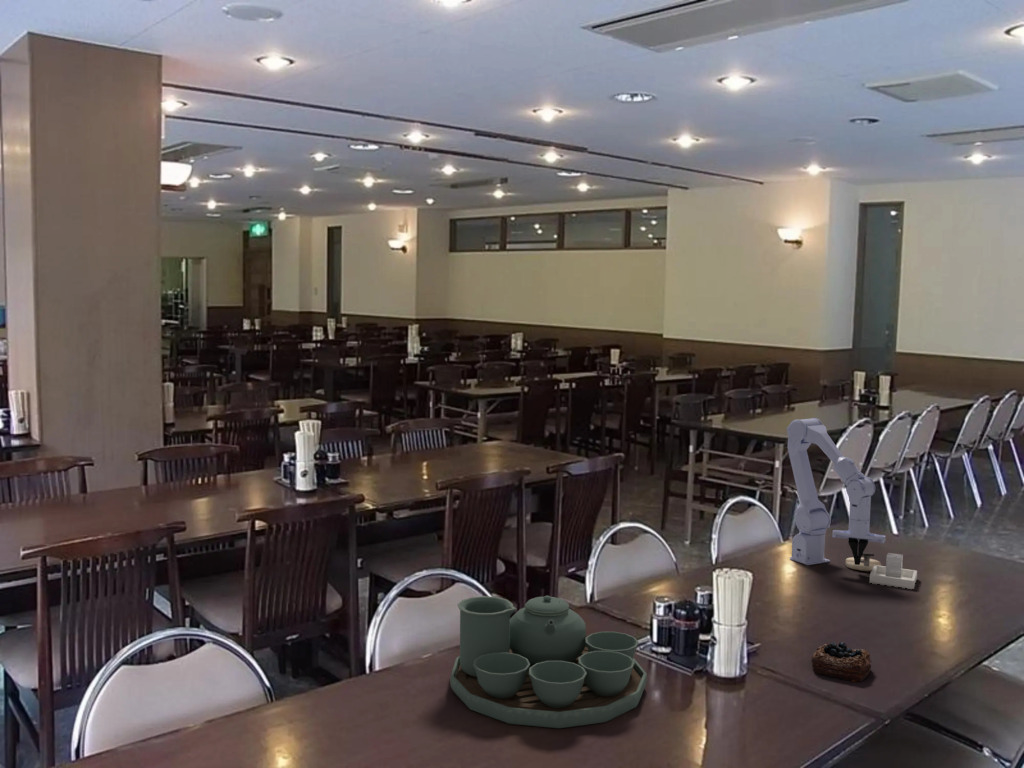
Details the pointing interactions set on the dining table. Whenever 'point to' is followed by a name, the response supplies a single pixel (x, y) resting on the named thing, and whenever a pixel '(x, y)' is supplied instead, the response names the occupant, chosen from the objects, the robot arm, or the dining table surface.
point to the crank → (863, 563)
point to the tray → (905, 582)
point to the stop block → (894, 565)
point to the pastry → (841, 662)
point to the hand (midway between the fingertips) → (857, 563)
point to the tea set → (542, 665)
